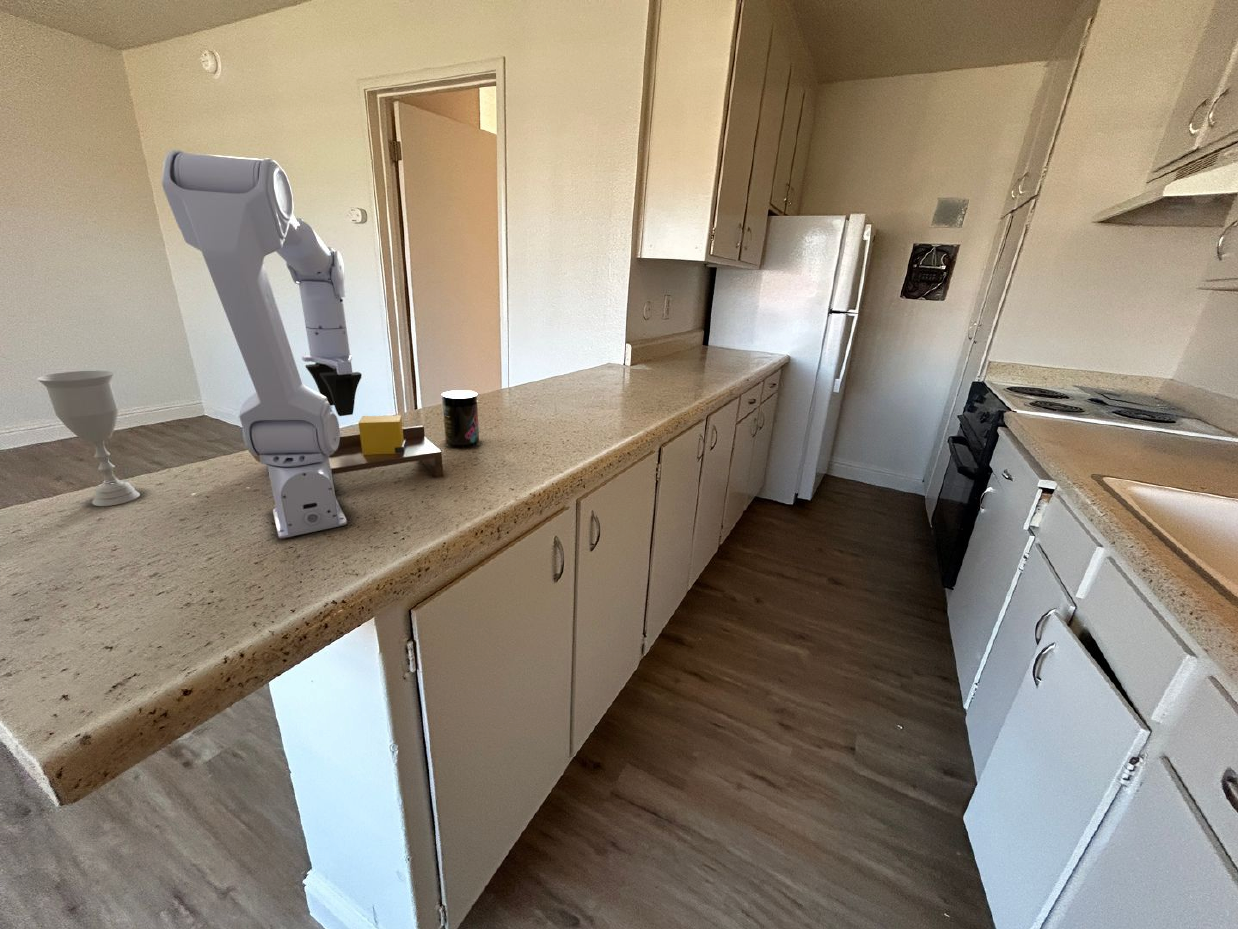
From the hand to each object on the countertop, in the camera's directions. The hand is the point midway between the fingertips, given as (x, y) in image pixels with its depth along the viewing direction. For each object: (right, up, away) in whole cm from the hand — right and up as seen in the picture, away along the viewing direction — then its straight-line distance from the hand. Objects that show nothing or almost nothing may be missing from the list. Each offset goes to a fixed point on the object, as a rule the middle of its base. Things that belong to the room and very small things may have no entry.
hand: (338, 409), depth 86 cm
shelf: (+7, -11, +1) cm, 13 cm away
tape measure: (+8, -7, 0) cm, 10 cm away
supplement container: (+15, -5, +19) cm, 25 cm away
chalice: (-26, -14, -12) cm, 32 cm away
